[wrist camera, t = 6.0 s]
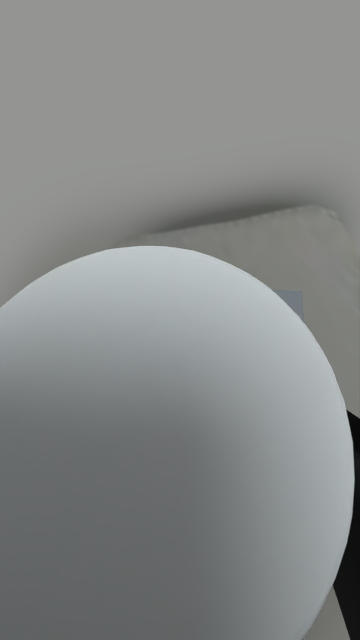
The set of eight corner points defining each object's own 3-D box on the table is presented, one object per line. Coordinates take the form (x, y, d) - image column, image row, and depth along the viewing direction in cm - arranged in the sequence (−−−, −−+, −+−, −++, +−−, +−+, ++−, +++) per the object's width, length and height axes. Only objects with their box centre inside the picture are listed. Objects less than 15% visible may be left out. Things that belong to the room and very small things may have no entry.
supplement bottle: (96, 429, 15) (-262, 396, 3) (185, 348, 17) (155, 128, 5) (180, 542, 13) (2, 1602, 1) (273, 437, 14) (611, 434, 3)
